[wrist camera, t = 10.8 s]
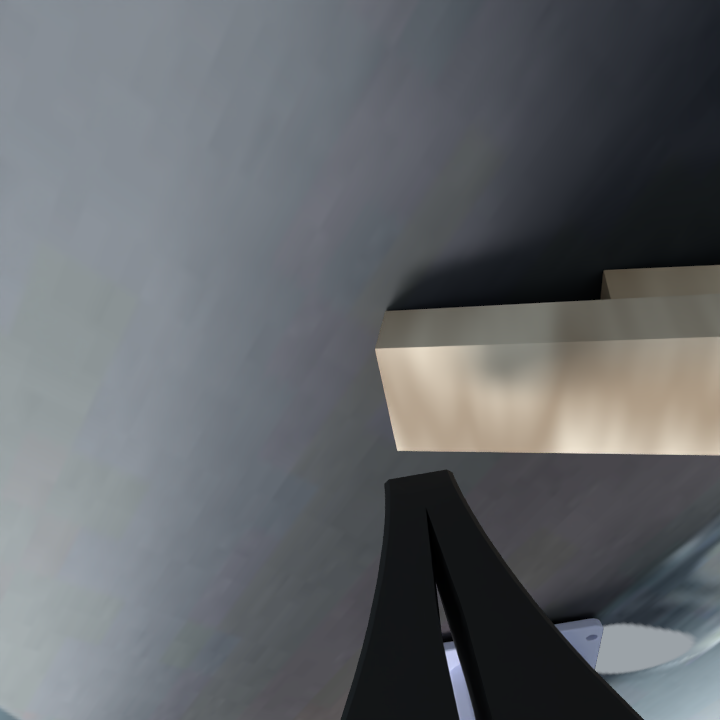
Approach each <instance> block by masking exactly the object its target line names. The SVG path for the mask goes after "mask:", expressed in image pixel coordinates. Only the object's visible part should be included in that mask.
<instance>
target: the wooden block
mask: <svg viewBox="0 0 720 720" xmlns="http://www.w3.org/2000/svg"><path fill="white" fill-rule="evenodd" d="M375 351H376V355H377V360H378V364H379V369H380V373H381V378H382V383H383V387H384V392H385V396H386V401H387V405H388V410H389V415H390V419H391V424H392V428H393V433H394V437H395V442H396V446H397V451H457V452H530V453H602V454H674V455H720V294H702V295H683V296H664V297H645V298H626V299H607V300H588V301H569V302H550V303H531V304H512V305H493V306H474V307H455V308H436V309H417V310H398V311H385V315H384V318H383V322H382V325H381V329H380V333H379V336H378V340H377V344H376V347H375Z"/></svg>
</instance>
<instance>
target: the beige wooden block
mask: <svg viewBox="0 0 720 720" xmlns="http://www.w3.org/2000/svg"><path fill="white" fill-rule="evenodd" d="M702 294H720V265H708V266H685V267H662V268H640V269H617V270H604V271H603V280H602V289H601V298H600V300H607V299H626V298H645V297H664V296H683V295H702Z"/></svg>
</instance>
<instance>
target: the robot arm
mask: <svg viewBox="0 0 720 720" xmlns="http://www.w3.org/2000/svg"><path fill="white" fill-rule="evenodd" d="M384 486H385V525H384V536H383V545H382V552H381V559H380V566H379V572H378V579H377V584H376V589H375V594H374V599H373V604H372V608H371V613H370V618H369V623H368V627H367V631H366V635H365V639H364V643H363V647H362V651H361V654H360V658H359V661H358V665H357V669H356V672H355V676H354V679H353V682H352V685H351V689H350V692H349V695H348V698H347V701H346V704H345V708H344V711H343V714H342V717H341V720H644V719H643V718H642V717H641V716H640V715H639V714H638V713H637V712H636V711H635V710H634V709H633V708H632V707H631V706H630V705H629V704H628V703H627V702H626V701H625V700H624V699H623V698H622V697H621V696H620V695H619V694H618V693H617V692H616V691H615V690H614V689H613V688H612V687H611V686H610V685H609V684H608V683H607V682H606V681H605V680H604V679H603V678H602V677H601V676H600V675H599V674H598V673H597V672H596V671H595V666H596V661H597V657H598V652H599V648H600V643H601V638H602V634H603V626H602V624H601V621H600V620H598V619H595V618H590V619H584V620H578V621H572V622H566V623H560V624H553V623H552V622H551V620H550V619H549V618H548V617H547V616H546V614H545V613H544V612H543V611H542V610H541V608H540V607H539V606H538V605H537V603H536V602H535V601H534V600H533V598H532V597H531V596H530V594H529V593H528V592H527V591H526V589H525V588H524V587H523V585H522V584H521V583H520V582H519V580H518V579H517V578H516V576H515V575H514V573H513V572H512V571H511V569H510V568H509V567H508V565H507V564H506V562H505V561H504V560H503V558H502V557H501V555H500V554H499V552H498V551H497V549H496V548H495V546H494V545H493V544H492V542H491V541H490V539H489V538H488V536H487V535H486V533H485V532H484V530H483V528H482V527H481V525H480V524H479V522H478V520H477V519H476V517H475V515H474V514H473V512H472V510H471V509H470V507H469V505H468V503H467V502H466V500H465V498H464V496H463V494H462V492H461V490H460V488H459V486H458V484H457V482H456V480H455V478H454V475H453V473H452V472H450V471H449V470H442V471H436V472H430V473H424V474H418V475H413V476H407V477H401V478H395V479H389V480H388V481H387V482H386V483H385V484H384ZM436 584H437V588H438V591H439V594H440V598H441V601H442V604H443V608H444V611H445V615H446V618H447V621H448V625H449V628H450V631H451V635H452V638H453V641H451V642H445V643H443V639H442V633H441V624H440V615H439V607H438V598H437V589H436Z"/></svg>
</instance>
